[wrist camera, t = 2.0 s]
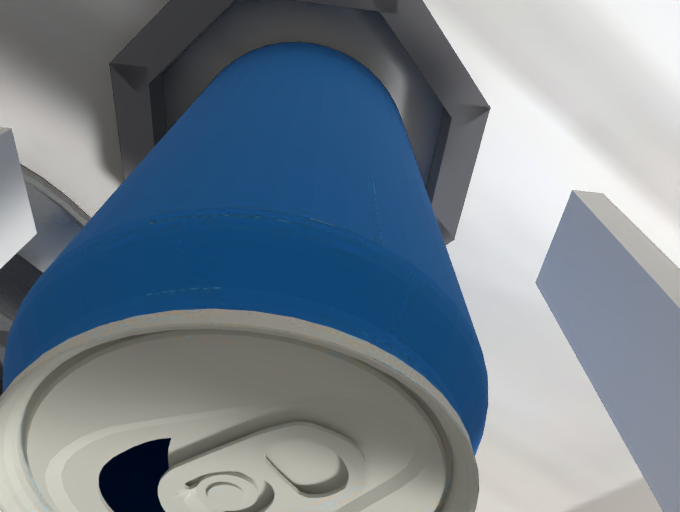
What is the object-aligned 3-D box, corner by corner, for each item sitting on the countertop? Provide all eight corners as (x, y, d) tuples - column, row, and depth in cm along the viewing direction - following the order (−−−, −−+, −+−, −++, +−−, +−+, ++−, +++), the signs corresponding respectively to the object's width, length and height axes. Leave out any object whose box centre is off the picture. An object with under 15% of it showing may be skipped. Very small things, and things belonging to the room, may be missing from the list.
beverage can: (156, 106, 15) (-204, 438, 5) (341, -10, 14) (348, 145, 3) (271, 261, 18) (190, 661, 8) (435, 182, 17) (585, 562, 7)
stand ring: (148, 267, 18) (137, 286, 17) (110, -73, 13) (91, -74, 12) (429, 293, 19) (434, 312, 18) (511, -20, 13) (524, -16, 12)
